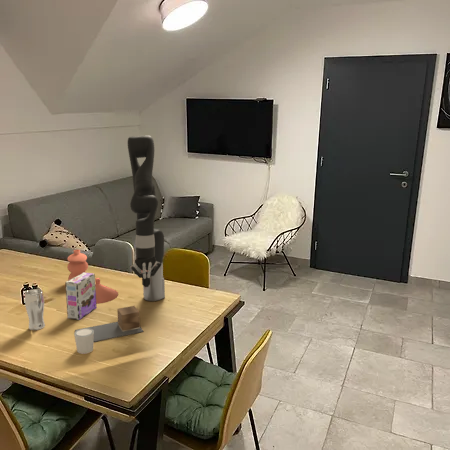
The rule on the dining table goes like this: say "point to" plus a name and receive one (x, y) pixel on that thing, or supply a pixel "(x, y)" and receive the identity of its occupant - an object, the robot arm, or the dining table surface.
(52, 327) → the dining table surface
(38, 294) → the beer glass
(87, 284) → the candy box
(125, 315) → the walnut cube
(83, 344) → the shot glass
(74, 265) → the ceramic vessels
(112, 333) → the placemat
